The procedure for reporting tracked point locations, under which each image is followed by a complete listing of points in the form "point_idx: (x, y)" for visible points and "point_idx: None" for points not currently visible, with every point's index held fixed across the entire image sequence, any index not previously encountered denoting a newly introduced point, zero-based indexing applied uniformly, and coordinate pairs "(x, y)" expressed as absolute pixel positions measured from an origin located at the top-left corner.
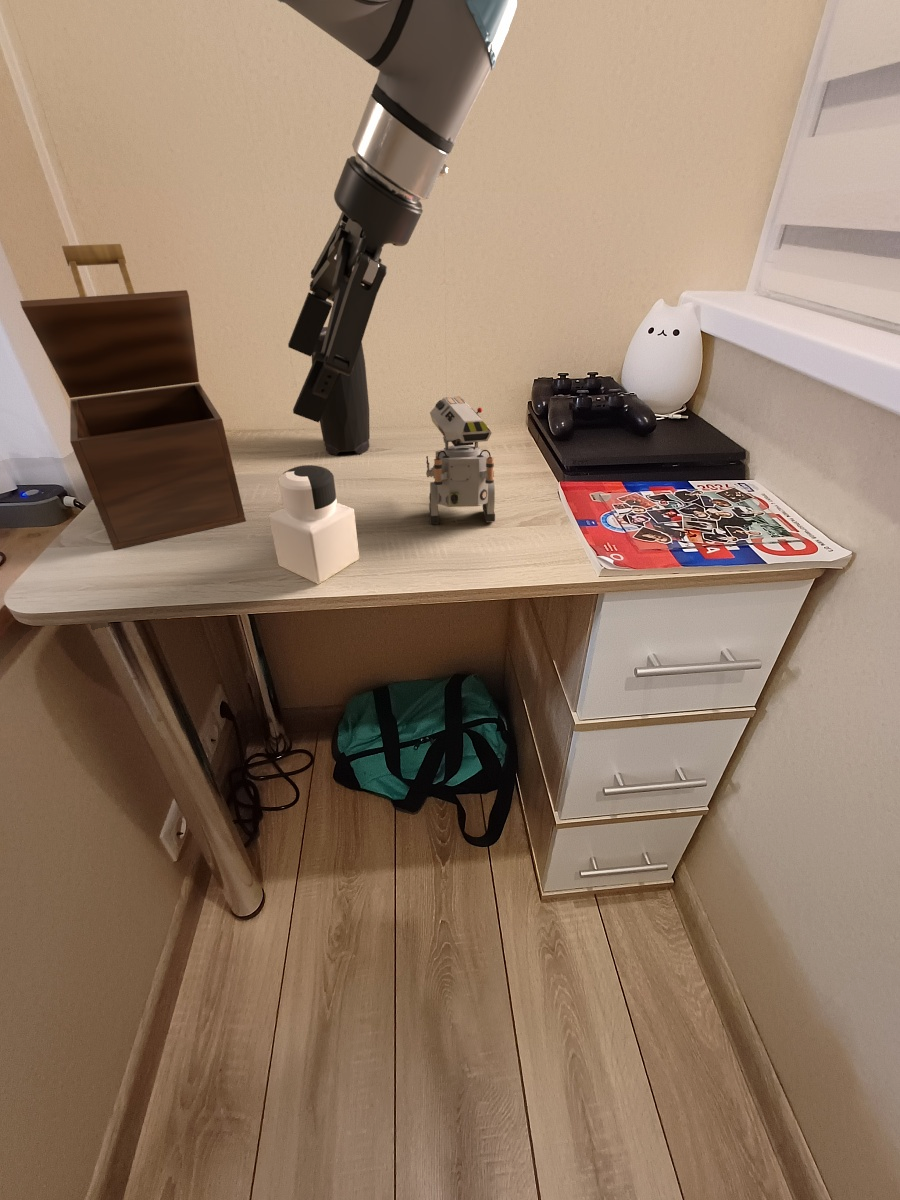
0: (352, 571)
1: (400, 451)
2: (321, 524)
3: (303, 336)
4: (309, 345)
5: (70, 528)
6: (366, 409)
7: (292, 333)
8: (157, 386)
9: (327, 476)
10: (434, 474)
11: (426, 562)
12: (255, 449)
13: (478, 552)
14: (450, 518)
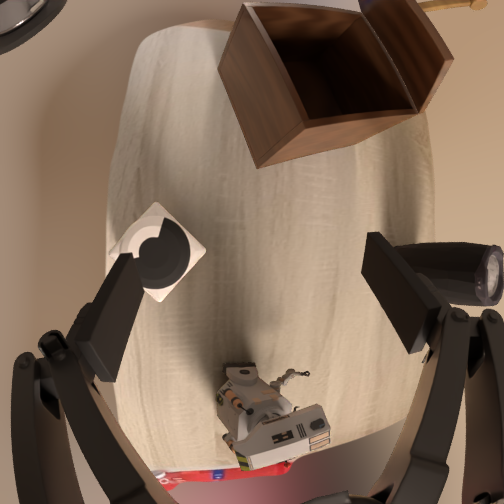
0: None
1: (385, 323)
2: None
3: (378, 268)
4: (371, 276)
5: None
6: None
7: (389, 243)
8: (399, 73)
9: (144, 283)
10: (234, 392)
11: (152, 355)
12: (401, 176)
13: (169, 399)
14: None
